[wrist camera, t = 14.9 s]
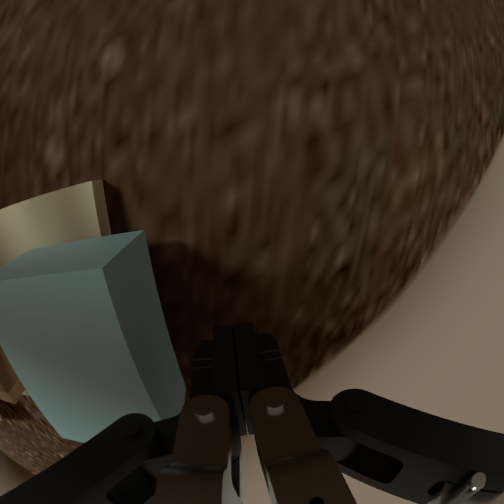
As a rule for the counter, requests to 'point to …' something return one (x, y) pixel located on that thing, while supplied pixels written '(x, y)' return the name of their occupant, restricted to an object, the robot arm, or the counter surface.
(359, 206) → the counter surface
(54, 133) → the counter surface
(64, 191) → the jig
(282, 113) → the counter surface
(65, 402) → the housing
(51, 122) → the counter surface
